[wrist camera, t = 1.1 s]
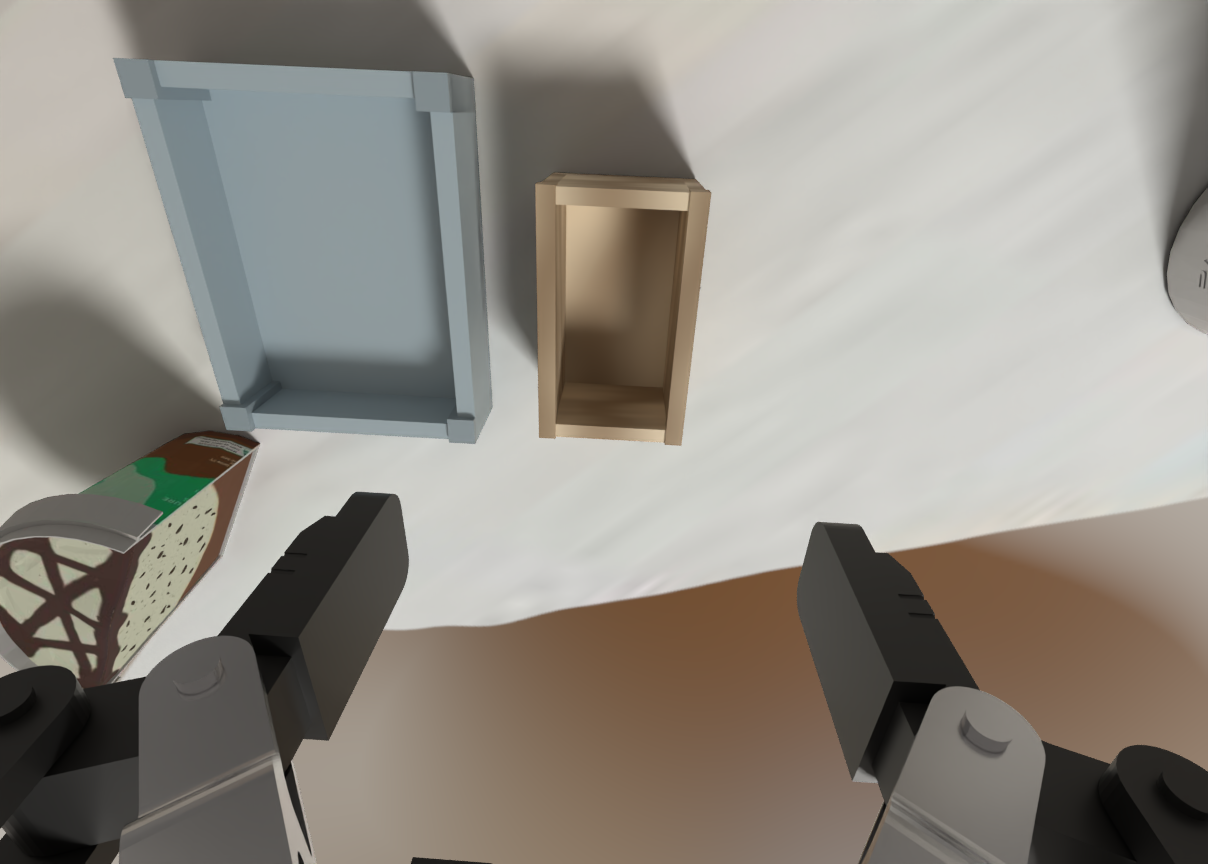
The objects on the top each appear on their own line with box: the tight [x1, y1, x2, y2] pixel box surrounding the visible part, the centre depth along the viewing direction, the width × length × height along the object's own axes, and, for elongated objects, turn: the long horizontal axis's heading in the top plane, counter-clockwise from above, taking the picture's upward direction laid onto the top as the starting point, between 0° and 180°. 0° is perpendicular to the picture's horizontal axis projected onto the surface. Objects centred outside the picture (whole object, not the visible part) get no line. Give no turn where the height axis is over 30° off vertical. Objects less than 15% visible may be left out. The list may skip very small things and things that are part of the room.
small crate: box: [535, 172, 711, 446], centre depth 25 cm, size 6×10×5 cm, turn 178°
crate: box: [113, 58, 492, 444], centre depth 25 cm, size 12×15×4 cm
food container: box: [0, 431, 260, 689], centre depth 29 cm, size 12×6×10 cm, turn 150°
